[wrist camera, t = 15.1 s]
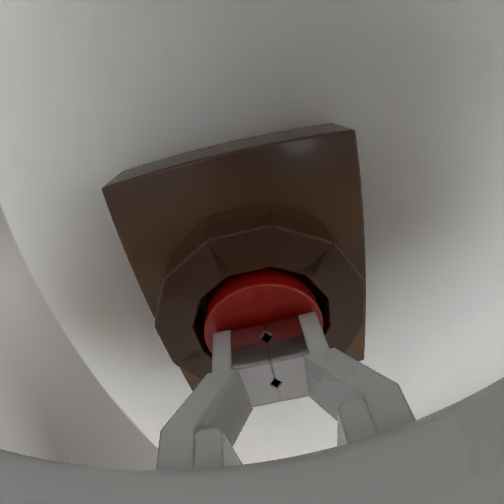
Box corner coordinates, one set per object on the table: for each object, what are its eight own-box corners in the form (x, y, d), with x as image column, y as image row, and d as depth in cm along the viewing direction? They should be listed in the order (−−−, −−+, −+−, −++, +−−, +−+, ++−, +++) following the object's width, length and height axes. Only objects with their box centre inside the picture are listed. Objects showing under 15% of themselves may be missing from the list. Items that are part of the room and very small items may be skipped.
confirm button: (192, 267, 10) (187, 299, 8) (304, 243, 10) (318, 271, 8) (221, 347, 12) (222, 382, 10) (315, 327, 12) (327, 360, 10)
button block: (121, 172, 11) (76, 208, 7) (333, 122, 11) (382, 137, 7) (196, 362, 15) (192, 426, 12) (350, 329, 15) (377, 389, 12)
